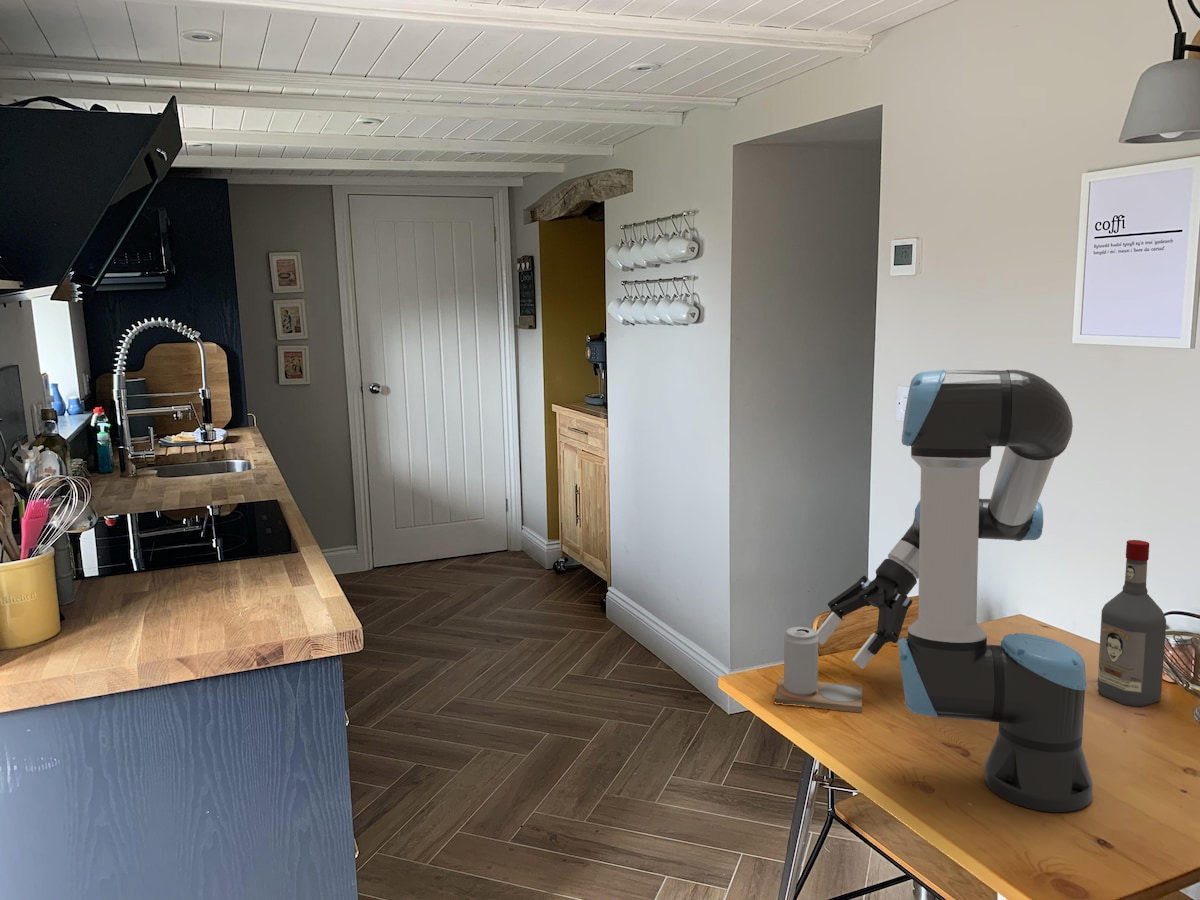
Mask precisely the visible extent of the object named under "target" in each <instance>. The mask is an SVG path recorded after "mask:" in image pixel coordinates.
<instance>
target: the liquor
mask: <svg viewBox="0 0 1200 900" xmlns="http://www.w3.org/2000/svg"><path fill="white" fill-rule="evenodd" d="M1149 554H1150V542H1148V541H1146V540H1141V539H1140V540H1139V539H1127V541H1126V549H1125V558H1126V560H1125V561H1126V562H1125V572H1124V573H1125V574H1124V575H1125V576H1124V585H1123V586H1122V590H1121V591H1120V592H1119V593H1118V594H1116V595H1115V596H1114V597H1112V598H1111V599H1110V600H1108V602H1106V603H1105V604H1104V605H1103V608H1102V609H1101V616H1100V617H1101V618H1100V619H1101V620H1100V633H1099V634H1100V636H1099V651H1098V652H1099V653H1098V669H1097V670H1098V672H1097V674H1098V675H1097V687H1098V692H1099V693H1100V694H1101V696H1103V697H1105V698H1108V699H1110V700H1112V701H1115V702H1117V703H1119V704H1122V705H1125V706H1132V707H1133V706H1134V707H1143V706H1147V705H1152V704H1154V703H1159V702H1158V701H1160V700H1161V698H1162V689H1163V688H1162V686H1163V673H1164V659H1165V645H1166V632H1167V631H1166V629H1167V628H1166V627H1167V619H1166V614H1165V613H1164V612H1163V610H1162V608H1161V607H1160V606H1159V605H1158V604H1157V603H1156V602H1155V600H1154V599H1153V598H1152V597H1151V596H1150V595H1149V594H1148V588H1147V576H1148V560H1149V558H1150V555H1149Z"/></svg>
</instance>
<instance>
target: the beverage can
mask: <svg viewBox="0 0 1200 900" xmlns="http://www.w3.org/2000/svg"><path fill="white" fill-rule="evenodd" d="M816 631H817V630H815V629H813V628H810V627H806V626H793V627H789V628H787V630H786V634H785V635H784V642H783V643H784V647H783V650H784V651H783V652H784V653H783V678H784V688H785V689H786V690H787V691H788V692H789V693H791V694H793V695H797V696H807V695H811V694H812V693H813V692H815V691H816V690H817V688H818V681H819V642H818V637H817V636H816Z"/></svg>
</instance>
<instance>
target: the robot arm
mask: <svg viewBox="0 0 1200 900" xmlns="http://www.w3.org/2000/svg"><path fill="white" fill-rule="evenodd" d="M907 394H908V395H907V400H906V405H905V410H904V417H903V424H902V425H903V426H902V434H901V443H902V445H904V446H906V447H910V448H911V449H910V457H911V459H912V460H914V462H915V463H916V464H917V465H918V466H919V468H920V492H919V493H920V495H919V497H920V499H919V501H918V503H917V504H916V506H915V509H914V518H913V522H912V523H911V526H910V527H909V528H908V529H907V531H906V532H905V533H904V535H903V536H902V537H901V538H900V539H899V540H898V541H897V543H896V544H895V546H894V547H893V548H892V549H891V550H890V552H889V553H888V554H887V558H885V559H884V560H883V561H882V562H881V563H880V564H879V566H878V567H877V568H876V569H875V578H874V579H873V580H870V578H868V577H867V576H866V575H863V576H861V577H860V578H859V579H858V580H857V581H856V583H854V584H853V585H851V586H850V587H848V588H846V590H844V591H843V592H841V593H840V594H838V595H837V596H836V597H834V598H833V599H832V600H829V602H828V603H827V607H829V609H830V612H829V614H827V616H826V617H825V619H824V620H823V621H822V623H821V625H820V626H819V628H818V629H817V630H815V631H816V636H817V637H818V644H820V645H821V646H824V644H825V643H826V642H827V641H828V639H829V638H830V636H831V635H832V634H833V633H834V631H835V630H836V629H837V628H838V626H839V625H840V624H841V623H842V622H843V617H845V616H846V615H849V614H851V613H853V612H856V611H858V610H859V609H862V608H863V607H866V606H867V607H870V606H871V607H874V608H878V618H877V630H875V631H874V633H873V632H872V633H871V635H870V636H869V637H868V638H867V640H866V641H865V643H864V644H863V645H862V646H861V648H860V649H859V650H858V651H857V652H856V654H855V655H854V657H853V658H852V659H851V661H853V662H854V663H855V664H856V665H857V666H858V667H859V668H860V669H862V670H864V668H865V667H866V666H867V664H869V662H870V661H871V660H872V658H873V657H874V656H876V655H877V654H878V652H879V651H880V650H881V649H882V647H883V646H884V645H885V644H887V643H889V642H890V643H893V644H896V643H898V644H897V645H898V652H899V653H898V655H899V662H900V671H901V677H902V678H901V679H902V686H903V687H902V688H903V693H904V702H905V703H904V704H905V706H906V708H907V709H908V710H909V711H910V713H911V712H912V713H913V714H915V715H921V716H929V717H934V718H935V719H940V718H942V719H943V718H946V719H958V720H966V721H980V722H989V723H990V722H991V723H994V722H995V723H998V733H997V734H996V735H997V736H996V738H995V740H994V742H993V744H992V747H991V749H990V751H989V753H988V756H987V758H986V760H985V764H984V781H985V784H986V785H987V787H988V788H989V789H990V790H991V791H992V792H993V793H994V794H996V796H999V797H1000V798H1002V799H1003V800H1005V801H1008V802H1010V803H1012V804H1014V805H1017V806H1020V807H1023V808H1027V809H1031V810H1034V811H1041V812H1049V813H1066V812H1067V813H1069V812H1074V811H1079V810H1082V809H1084V808H1086V807H1087V806H1089V804H1090V803H1091V802H1092V800H1093V793H1094V792H1093V790H1094V784H1093V778H1092V776H1091V771H1090V769H1089V766H1088V762H1087V758H1086V755H1085V753H1084V750H1083V733H1084V730H1083V729H1084V718H1085V717H1084V713H1085V701H1086V699H1085V697H1086V689H1087V687H1088V685H1087V676H1086V675H1087V674H1086V672H1087V671H1086V663H1085V659H1084V658H1083V656H1082V655H1081V654H1080V653H1079V652H1078V651H1076V649H1074V648H1073V647H1070V646H1069V645H1067V644H1066V643H1063V642H1061V641H1057V640H1055V639H1053V638H1050V637H1049V638H1048V637H1045V636H1042V635H1037V634H1032V633H1031V634H1030V633H1023V632H1022V633H1020V632H1016V633H1014V634H1013V633H1008V634H1006V635H1003V637H1002V639H1001V641H1000V644H999V645H997V644H988V637H987V635H988V634H987V632H986V631H985V630H984V629H983V628H981V626H980V625H979V624H978V621H977V617H978V616H977V613H978V611H977V610H978V609H977V608H978V575H979V574H978V570H979V569H978V568H979V567H978V566H979V565H978V564H979V539H982V540H983V539H984V540H1001V541H1003V540H1004V541H1005V540H1006V541H1015V542H1020V541H1035V540H1039V539H1040V538H1041V536H1042V533H1043V528H1044V509H1043V506H1042V504H1041V502H1039V501H1040V497H1041V494H1042V491H1043V489H1044V487H1045V484H1046V482H1047V479H1048V477H1049V473H1050V472H1051V469H1052V466H1053V463H1054V461H1055V458H1057V457H1059V456H1060V455H1061V454H1063V453H1064V452H1065V450H1066V449H1067V447H1068V445H1069V442H1070V440H1071V437H1072V433H1073V427H1074V426H1073V422H1074V421H1073V416H1072V412H1071V410H1070V408H1069V404H1068V402H1067V401H1066V399H1065V398H1064V396H1063V395H1062V394H1061V392H1059V390H1058V389H1057V388H1056V387H1054V385H1053V384H1051V383H1050V382H1048V381H1047V380H1046V379H1045V378H1042V377H1041V376H1038V375H1037V374H1035V373H1033V372H1032V373H1031V372H1028V371H1025V370H1019V369H1006V370H996V369H995V370H991V369H990V370H988V369H987V370H975V369H974V370H971V369H970V370H969V369H968V370H967V369H965V370H964V369H962V370H958V369H954V370H953V369H950V370H949V369H942V370H941V369H940V370H931V371H928V370H927V371H921V372H918V373H916V374H915V375H913V377H912V379H911V381H910V385H909V388H908V393H907ZM993 447H1004V448H1003V449H1004V451H1003V454H1002V457H1001V461H1000V463H999V466H998V471H997V475H996V478H995V482H994V485H993V490H992V491H991V497H990V498H980V485H981V483H980V481H981V480H980V479H981V478H980V476H981V469H982V468H983V467H984V466H985V465H986V464H987V463H988V462H989V461H990V460H991V459H992V448H993ZM917 580H918V599H917V600H918V601H917V602H918V605H917V606H918V607H917V608H918V609H917V618H916V620H914V621H913V622H912V623H911V624H909V625H908V627H907V637H902V638H900V635H901V633H902V632H901V631H902V628H903V625H904V621H905V619H906V615H907V613H908V610H909V608H910V607H911V605H912V603H913V600H912V599H911V598H910V597H909V596H908V595H909V594H910V592H911V591H912V590H913V588H914V587H915V586H916V584H917Z"/></svg>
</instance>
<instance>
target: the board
mask: <svg viewBox="0 0 1200 900" xmlns="http://www.w3.org/2000/svg"><path fill="white" fill-rule="evenodd" d="M777 683H778V684H777V687H776V691H775V694H774V695H775V696H774V702H776V703H783V704H796V705H805V706H809V707H816V708H815V709H817V708H824V709H823V710H827V709H831V710H830V711H838V710H839V712H848V711H849V712H851V713H860V714H861V713H863V686H864V685H860V684H851V683H841V682H839V683H838V682H829V681H828V682H827V681H819V680H818V688H817V690H816V691H815V692H813V693H812V694H811V695H807V696H797V695H793V694H791V693H789V692H788V691H787V690H786V689H785V688H784V677H783V678H782V677H779V679H778V682H777Z"/></svg>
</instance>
